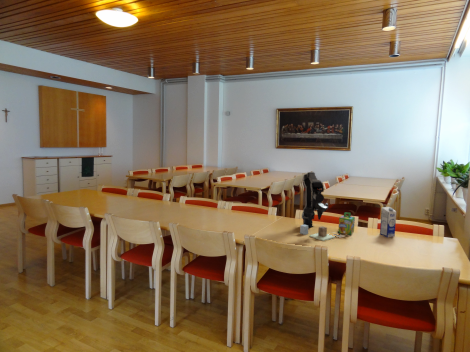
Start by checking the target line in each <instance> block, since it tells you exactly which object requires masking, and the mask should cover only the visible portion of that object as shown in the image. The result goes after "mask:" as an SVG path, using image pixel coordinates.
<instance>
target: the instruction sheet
mask: <svg viewBox="0 0 470 352" xmlns="http://www.w3.org/2000/svg"><path fill="white" fill-rule="evenodd" d="M337 234H338V233H337ZM337 234H333V235H336V236H337V237H336V238H338V237H339V239H341V238H344V237H346V235H345V234H342V233H339V234H340V235H337Z"/></svg>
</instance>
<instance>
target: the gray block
mask: <svg viewBox="0 0 470 352" xmlns="http://www.w3.org/2000/svg"><path fill="white" fill-rule="evenodd" d="M299 227H300V229H299V230H300V231H299V234H301V235H304V236H305V235H309V228H308V225H303V224H300V225H299Z"/></svg>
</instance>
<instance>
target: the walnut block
mask: <svg viewBox="0 0 470 352" xmlns="http://www.w3.org/2000/svg"><path fill="white" fill-rule="evenodd" d="M317 229H318V231H317V233H318V236H321V237H325V236H327V234H328V231H327V230H328V227H327V226H322V225H321V226H318V228H317Z"/></svg>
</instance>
